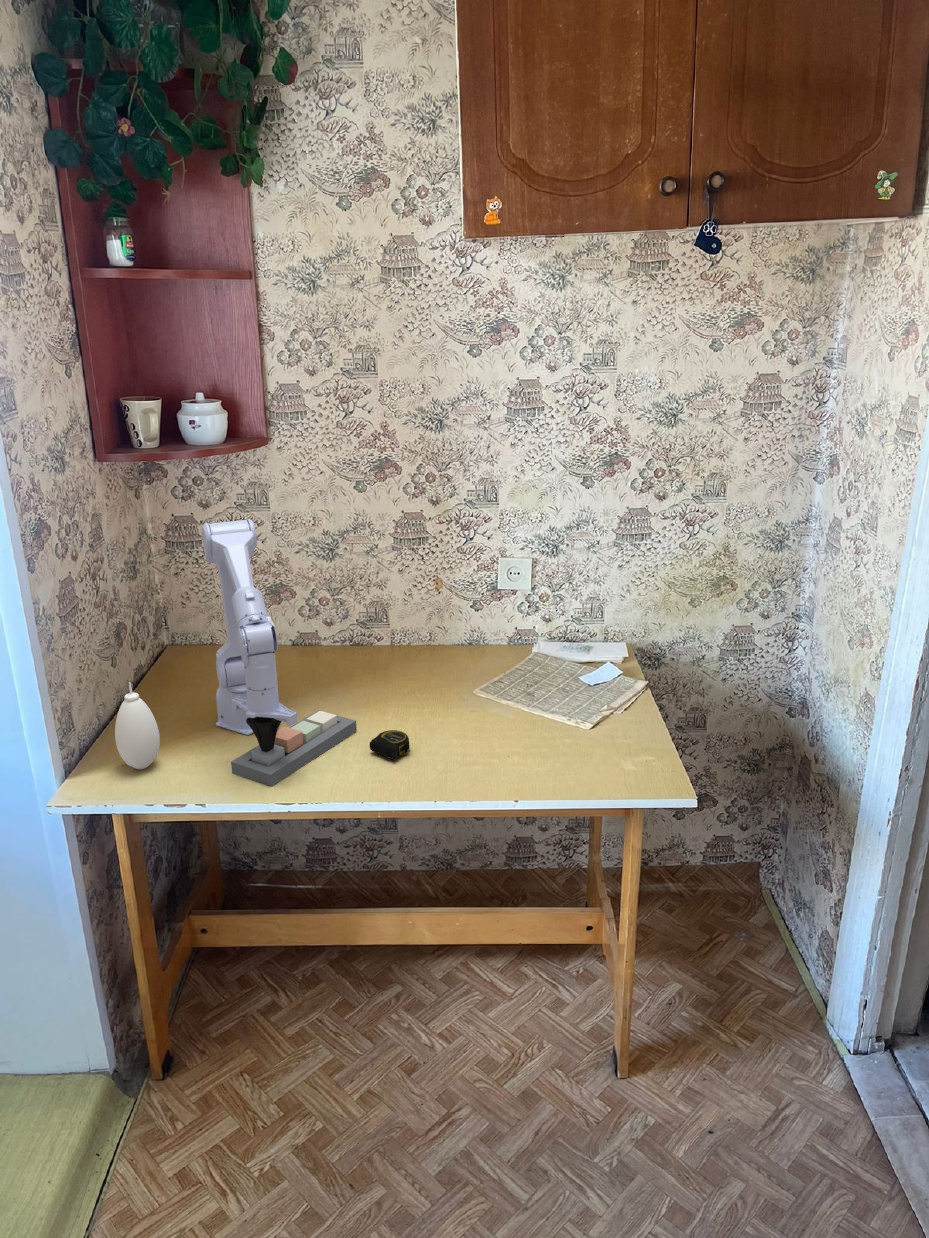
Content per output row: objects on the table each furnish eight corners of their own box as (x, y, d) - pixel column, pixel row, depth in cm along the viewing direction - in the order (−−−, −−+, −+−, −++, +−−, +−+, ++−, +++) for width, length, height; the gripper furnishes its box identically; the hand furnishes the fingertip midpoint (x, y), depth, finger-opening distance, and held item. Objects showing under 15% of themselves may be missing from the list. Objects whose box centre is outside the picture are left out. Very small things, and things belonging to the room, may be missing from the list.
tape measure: (368, 754, 187) (367, 737, 186) (392, 742, 192) (391, 725, 191) (392, 765, 183) (392, 748, 182) (416, 752, 188) (416, 735, 187)
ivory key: (307, 731, 194) (306, 718, 193) (320, 722, 197) (320, 710, 196) (324, 736, 191) (323, 723, 190) (337, 727, 195) (336, 715, 194)
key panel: (232, 773, 180) (230, 761, 179) (319, 720, 201) (318, 710, 200) (271, 786, 175) (270, 774, 174) (356, 731, 196) (356, 720, 195)
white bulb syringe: (147, 753, 188) (136, 670, 182) (170, 765, 183) (159, 680, 177) (112, 768, 182) (99, 683, 176) (135, 781, 178) (122, 694, 172)
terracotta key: (271, 748, 185) (269, 735, 184) (286, 739, 188) (285, 726, 187) (288, 753, 182) (287, 740, 181) (303, 744, 186) (302, 731, 185)
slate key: (252, 764, 181) (251, 751, 180) (267, 754, 184) (266, 742, 183) (269, 770, 178) (268, 757, 177) (285, 760, 182) (284, 747, 181)
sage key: (289, 741, 189) (288, 729, 188) (304, 732, 193) (303, 720, 192) (306, 746, 187) (305, 734, 186) (320, 737, 191) (320, 725, 190)
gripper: (217, 684, 176) (224, 749, 181) (276, 700, 169) (282, 767, 174) (244, 671, 182) (250, 734, 186) (302, 686, 175) (307, 752, 179)
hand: (267, 749), depth 180 cm, fingers closed, pressing on slate key
